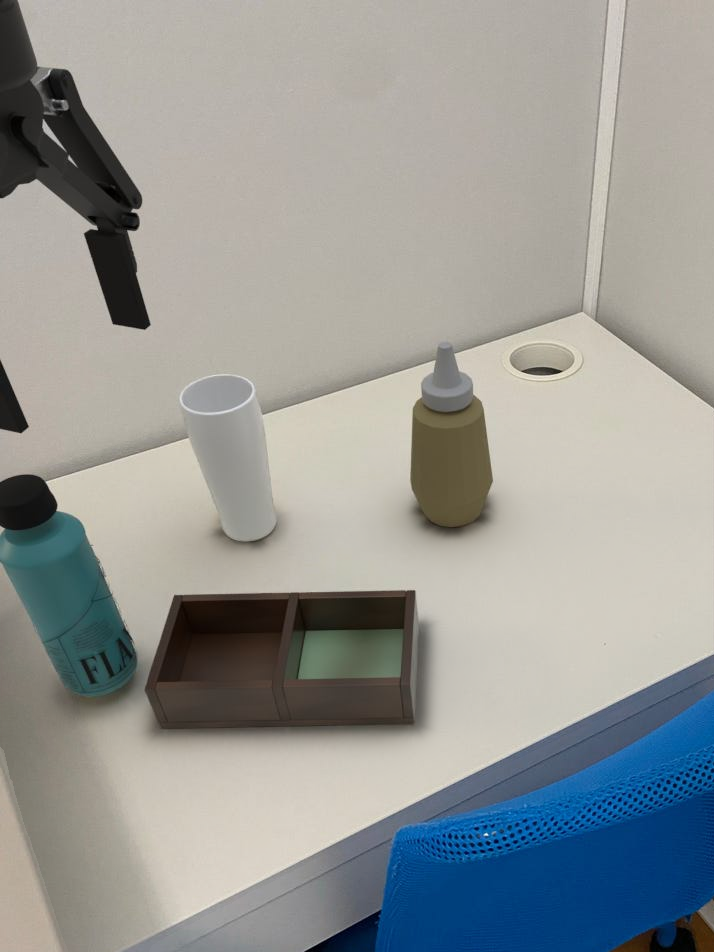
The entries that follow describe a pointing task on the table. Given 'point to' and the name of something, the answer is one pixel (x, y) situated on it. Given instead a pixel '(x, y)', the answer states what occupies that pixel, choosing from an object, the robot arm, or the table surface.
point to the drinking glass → (231, 452)
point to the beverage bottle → (63, 589)
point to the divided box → (287, 660)
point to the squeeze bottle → (449, 445)
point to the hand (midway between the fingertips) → (74, 372)
